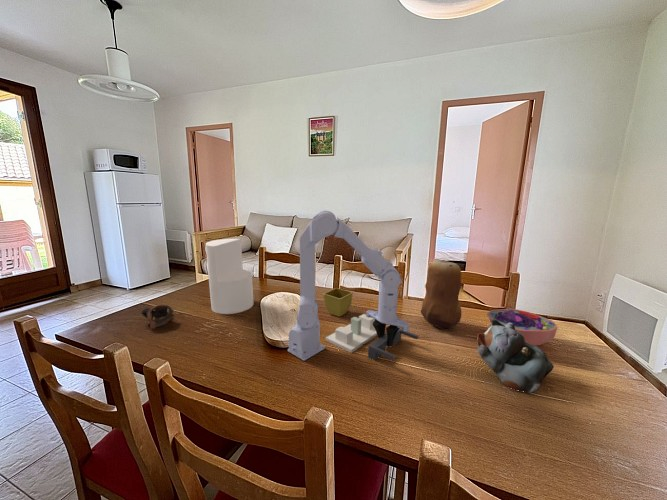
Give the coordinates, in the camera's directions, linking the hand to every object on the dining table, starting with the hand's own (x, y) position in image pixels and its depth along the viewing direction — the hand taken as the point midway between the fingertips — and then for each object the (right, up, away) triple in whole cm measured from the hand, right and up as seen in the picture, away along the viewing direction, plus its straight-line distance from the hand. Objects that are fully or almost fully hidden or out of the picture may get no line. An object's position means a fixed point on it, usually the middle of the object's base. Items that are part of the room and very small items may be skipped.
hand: (385, 343), depth 89 cm
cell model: (+46, -1, +5) cm, 46 cm away
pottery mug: (-83, +2, +16) cm, 84 cm away
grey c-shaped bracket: (+2, -2, -2) cm, 3 cm away
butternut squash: (+23, +1, +16) cm, 28 cm away
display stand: (-9, 0, +8) cm, 12 cm away
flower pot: (-15, +4, +25) cm, 29 cm away
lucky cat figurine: (+32, -5, -12) cm, 35 cm away
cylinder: (-61, +6, +32) cm, 69 cm away
